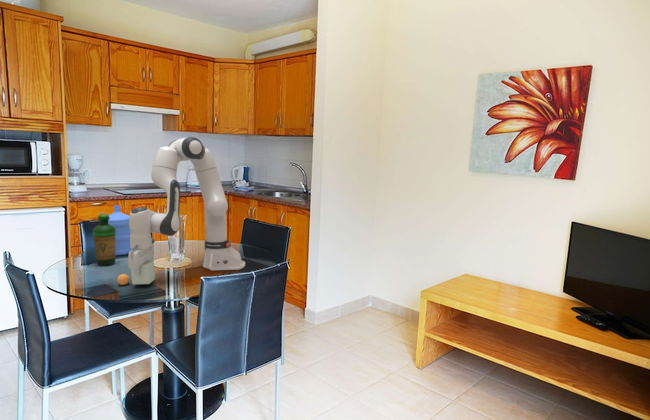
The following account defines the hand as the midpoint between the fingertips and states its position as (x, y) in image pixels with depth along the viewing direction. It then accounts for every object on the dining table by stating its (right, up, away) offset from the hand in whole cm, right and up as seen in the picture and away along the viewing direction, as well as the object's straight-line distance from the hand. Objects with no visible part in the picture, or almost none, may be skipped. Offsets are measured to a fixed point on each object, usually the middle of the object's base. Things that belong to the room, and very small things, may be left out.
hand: (142, 272), depth 189 cm
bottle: (-33, 0, +30) cm, 45 cm away
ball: (-9, -3, 0) cm, 9 cm away
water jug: (-37, +3, +54) cm, 66 cm away
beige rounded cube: (+1, -4, +1) cm, 4 cm away
